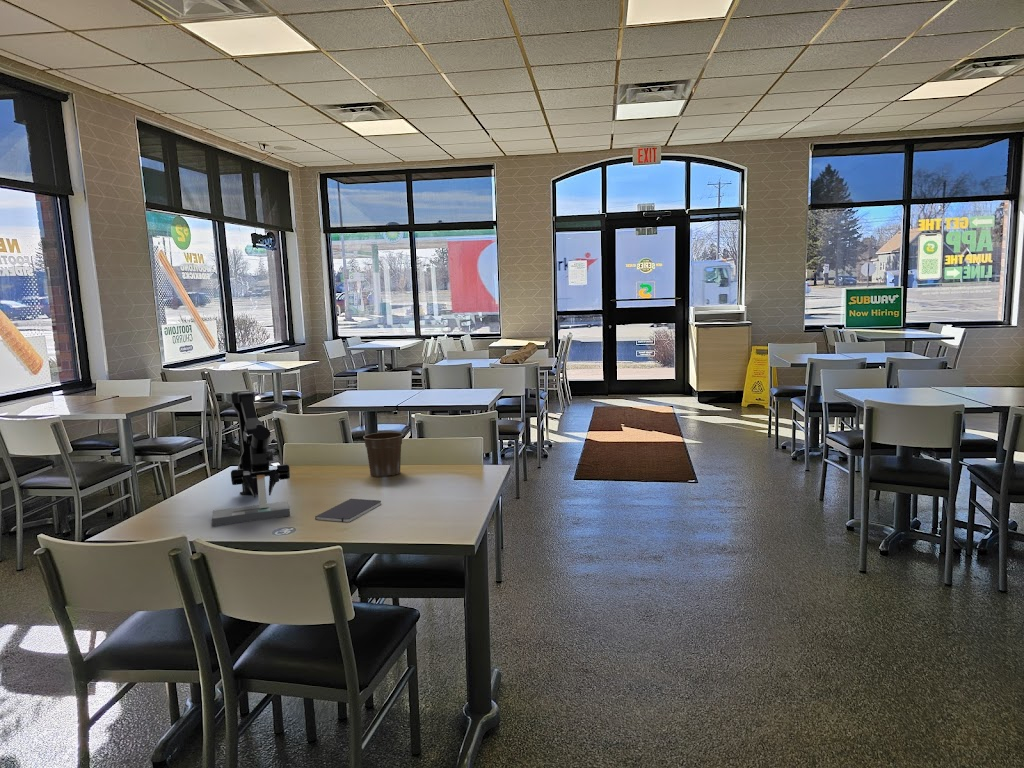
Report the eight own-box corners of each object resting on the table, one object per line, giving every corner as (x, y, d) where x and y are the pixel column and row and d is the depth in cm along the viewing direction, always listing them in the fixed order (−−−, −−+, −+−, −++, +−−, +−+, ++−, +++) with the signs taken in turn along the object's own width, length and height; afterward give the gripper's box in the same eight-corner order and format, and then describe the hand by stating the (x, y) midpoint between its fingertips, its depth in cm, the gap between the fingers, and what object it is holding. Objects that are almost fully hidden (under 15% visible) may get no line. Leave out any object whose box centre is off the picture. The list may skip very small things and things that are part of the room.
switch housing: (212, 525, 225) (211, 518, 225) (213, 517, 235) (213, 510, 234) (290, 515, 234) (289, 508, 233) (288, 507, 243) (288, 500, 243)
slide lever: (259, 508, 233) (256, 477, 232) (259, 506, 236) (256, 475, 235) (267, 507, 234) (264, 476, 233) (266, 505, 237) (264, 474, 236)
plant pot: (373, 469, 296) (370, 431, 295) (410, 468, 294) (408, 431, 292) (359, 478, 280) (357, 439, 279) (398, 478, 278) (396, 438, 276)
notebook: (351, 502, 248) (315, 521, 228) (350, 498, 248) (315, 516, 228) (382, 504, 244) (349, 523, 224) (382, 500, 244) (348, 519, 224)
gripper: (228, 446, 233) (230, 486, 224) (287, 441, 239) (291, 479, 230) (231, 464, 241) (233, 504, 232) (287, 459, 248) (291, 497, 239)
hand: (262, 495), depth 233 cm, fingers open, 4 cm apart
